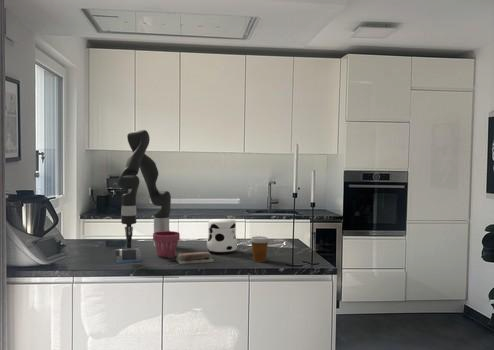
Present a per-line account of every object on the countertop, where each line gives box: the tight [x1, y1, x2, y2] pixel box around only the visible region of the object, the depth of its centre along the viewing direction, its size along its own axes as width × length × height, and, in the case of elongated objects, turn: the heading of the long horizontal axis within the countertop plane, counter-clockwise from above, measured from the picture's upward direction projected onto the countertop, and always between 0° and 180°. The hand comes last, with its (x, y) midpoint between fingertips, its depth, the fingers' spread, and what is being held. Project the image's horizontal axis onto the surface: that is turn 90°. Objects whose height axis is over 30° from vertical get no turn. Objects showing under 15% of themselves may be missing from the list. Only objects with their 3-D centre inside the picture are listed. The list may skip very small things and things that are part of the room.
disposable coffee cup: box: [250, 235, 270, 263], centre depth 247 cm, size 10×10×12 cm
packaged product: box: [175, 251, 215, 265], centre depth 244 cm, size 18×5×10 cm
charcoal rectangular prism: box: [115, 248, 136, 261], centre depth 241 cm, size 10×3×5 cm, turn 106°
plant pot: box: [152, 230, 181, 259], centre depth 254 cm, size 14×14×13 cm
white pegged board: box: [115, 247, 142, 265], centre depth 247 cm, size 12×22×4 cm, turn 17°
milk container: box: [206, 218, 238, 254], centre depth 268 cm, size 17×17×18 cm
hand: (128, 247), depth 242 cm, fingers closed
